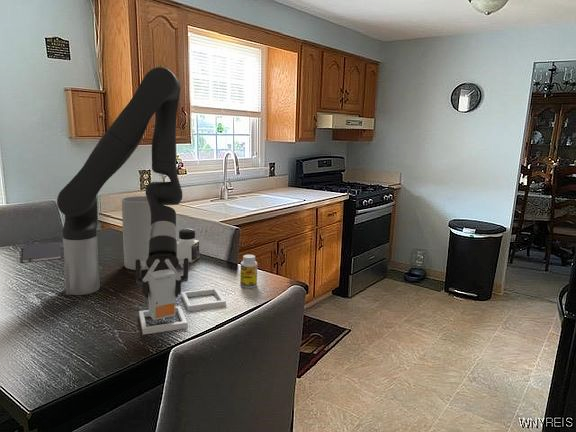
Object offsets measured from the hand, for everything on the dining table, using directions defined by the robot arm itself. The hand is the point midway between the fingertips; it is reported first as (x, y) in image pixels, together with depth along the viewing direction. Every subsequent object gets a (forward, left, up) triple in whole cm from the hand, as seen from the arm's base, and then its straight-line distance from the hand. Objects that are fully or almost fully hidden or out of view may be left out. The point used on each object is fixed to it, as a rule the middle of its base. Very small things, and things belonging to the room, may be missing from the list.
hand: (161, 296), depth 108 cm
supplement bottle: (+30, +19, -8) cm, 37 cm away
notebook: (-36, +77, -9) cm, 86 cm away
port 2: (+13, +11, -8) cm, 19 cm away
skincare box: (0, +1, -6) cm, 6 cm away
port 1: (0, +1, -8) cm, 8 cm away
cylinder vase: (-1, +50, -8) cm, 51 cm away
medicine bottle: (+16, +53, -8) cm, 56 cm away
